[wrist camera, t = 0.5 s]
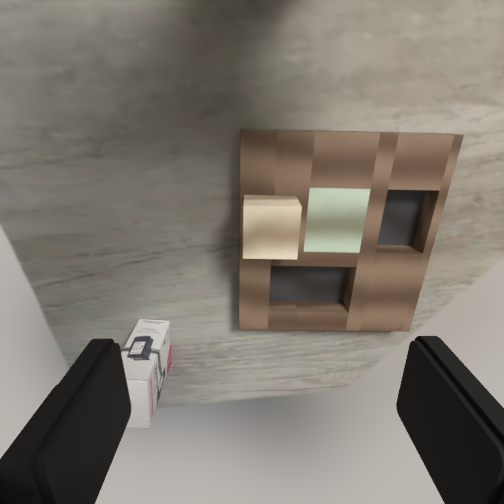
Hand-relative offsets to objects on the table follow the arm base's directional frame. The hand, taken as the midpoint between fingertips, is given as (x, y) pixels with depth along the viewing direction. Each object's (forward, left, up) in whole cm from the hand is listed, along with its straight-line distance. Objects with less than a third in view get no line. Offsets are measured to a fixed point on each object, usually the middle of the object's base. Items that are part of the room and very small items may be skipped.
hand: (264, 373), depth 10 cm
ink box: (+25, -15, -31) cm, 42 cm away
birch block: (+4, +2, -28) cm, 28 cm away
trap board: (+7, +10, -31) cm, 33 cm away
